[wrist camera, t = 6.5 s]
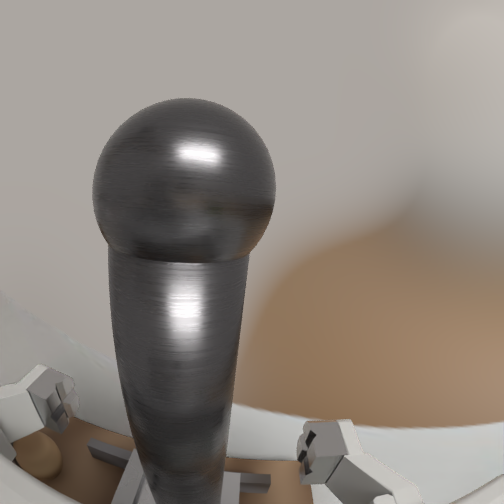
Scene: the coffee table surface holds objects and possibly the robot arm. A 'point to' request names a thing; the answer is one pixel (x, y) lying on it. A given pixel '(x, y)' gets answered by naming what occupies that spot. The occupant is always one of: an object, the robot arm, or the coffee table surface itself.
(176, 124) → the handle slide
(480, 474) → the coffee table surface
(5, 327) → the coffee table surface
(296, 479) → the base
